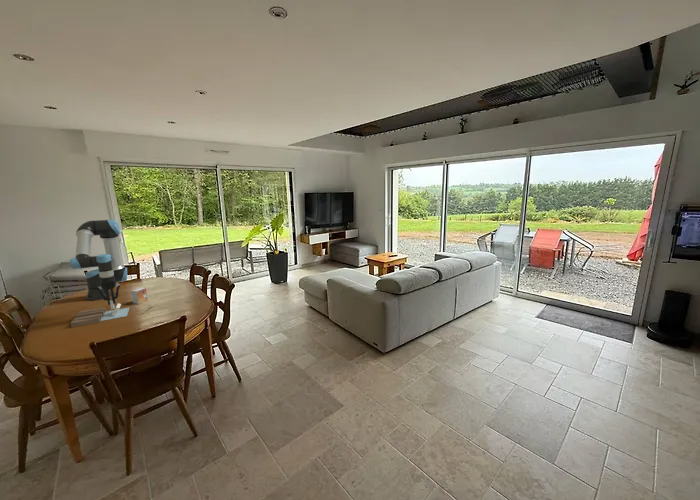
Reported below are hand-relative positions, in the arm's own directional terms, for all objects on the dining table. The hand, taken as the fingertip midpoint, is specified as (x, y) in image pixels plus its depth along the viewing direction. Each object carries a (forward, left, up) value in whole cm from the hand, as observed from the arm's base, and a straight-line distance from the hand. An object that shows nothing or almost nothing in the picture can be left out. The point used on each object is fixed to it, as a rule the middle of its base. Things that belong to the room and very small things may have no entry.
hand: (112, 308), depth 199 cm
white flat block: (0, +1, -1) cm, 1 cm away
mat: (0, +1, -5) cm, 5 cm away
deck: (0, -13, -5) cm, 14 cm away
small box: (-19, +14, -5) cm, 24 cm away
